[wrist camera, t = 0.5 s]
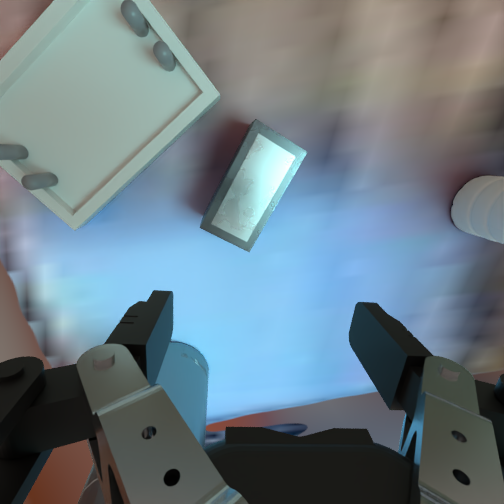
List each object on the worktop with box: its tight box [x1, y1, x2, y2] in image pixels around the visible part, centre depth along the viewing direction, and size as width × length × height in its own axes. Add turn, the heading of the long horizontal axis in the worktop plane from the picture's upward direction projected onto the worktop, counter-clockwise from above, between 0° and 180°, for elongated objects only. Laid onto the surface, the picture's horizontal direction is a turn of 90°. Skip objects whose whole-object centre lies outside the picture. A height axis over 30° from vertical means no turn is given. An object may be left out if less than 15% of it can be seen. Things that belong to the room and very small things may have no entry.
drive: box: [200, 119, 307, 252], centre depth 26 cm, size 10×5×5 cm, turn 151°
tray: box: [0, 0, 220, 231], centre depth 23 cm, size 18×12×4 cm, turn 129°
